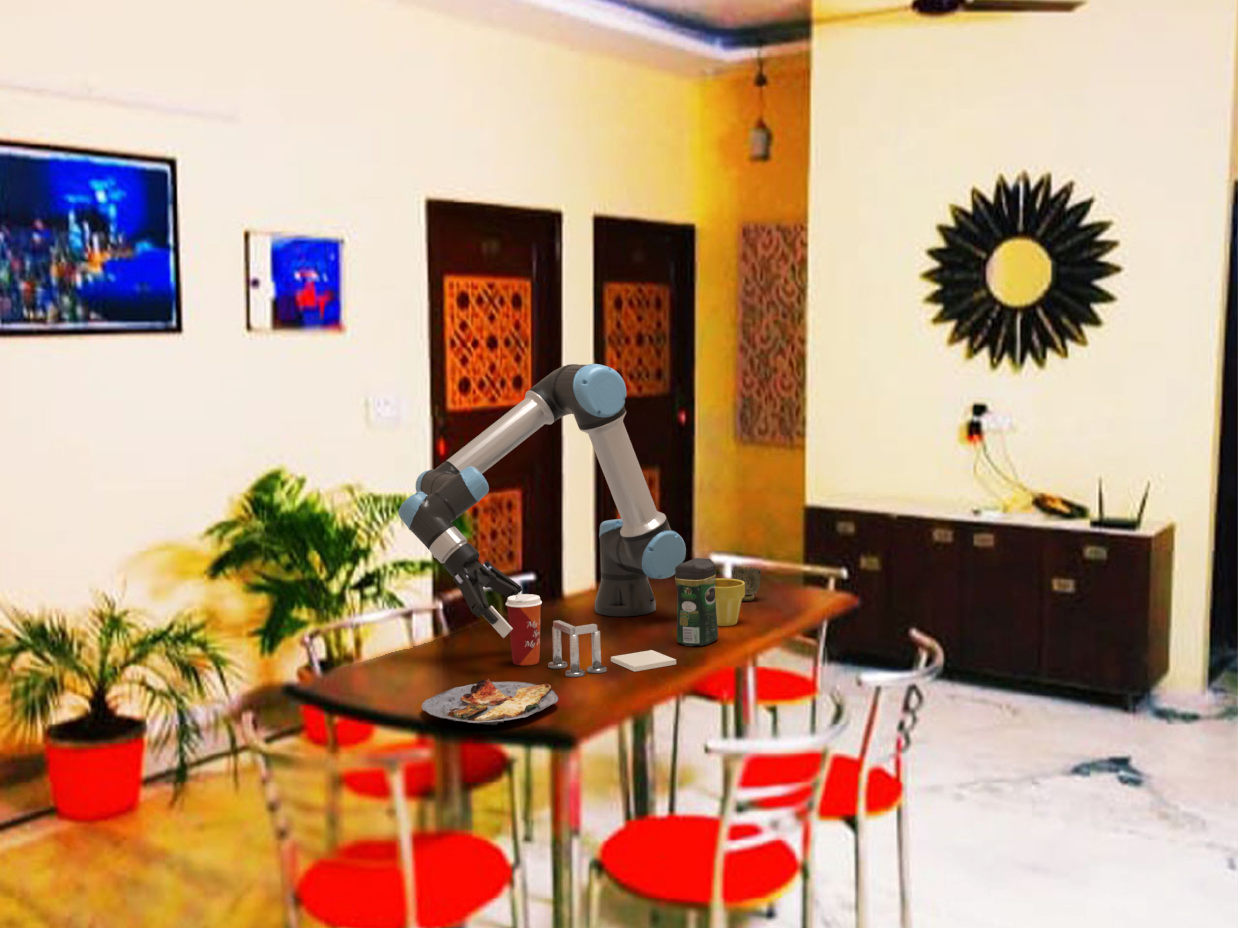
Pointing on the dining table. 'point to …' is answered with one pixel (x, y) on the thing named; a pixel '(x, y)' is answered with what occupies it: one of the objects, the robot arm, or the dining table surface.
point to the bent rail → (575, 648)
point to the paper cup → (524, 628)
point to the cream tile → (643, 660)
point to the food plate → (491, 701)
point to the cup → (748, 581)
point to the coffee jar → (696, 602)
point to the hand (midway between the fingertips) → (522, 626)
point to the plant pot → (728, 600)
